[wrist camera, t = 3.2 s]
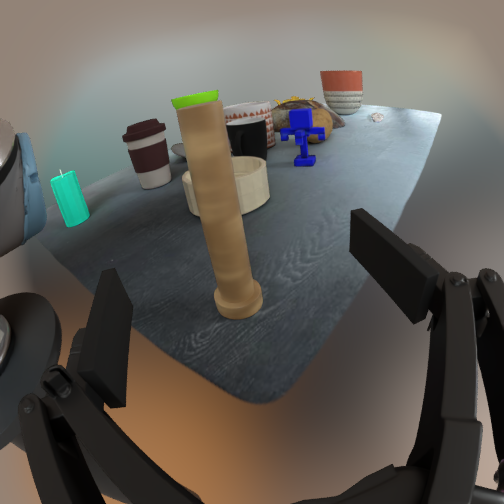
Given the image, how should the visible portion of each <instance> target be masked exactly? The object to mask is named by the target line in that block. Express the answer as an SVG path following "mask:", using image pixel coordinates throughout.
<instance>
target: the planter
mask: <svg viewBox="0 0 504 504" xmlns="http://www.w3.org/2000/svg"><path fill="white" fill-rule="evenodd" d="M320 75H321V79H322V86H323V92H324V98H325V101H326V104H327V105H328V107H329V108H330V109H331V110H333V111H334V112H335V113H337V114H342V115H348V114H353V113H355V112H356V111H357V110H358V109H359V108H360V106H361V103H362V97H363V96H362V95H363V94H362V93H363V91H362V71H320Z"/></svg>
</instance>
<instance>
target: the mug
mask: <svg viewBox="0 0 504 504" xmlns="http://www.w3.org/2000/svg"><path fill="white" fill-rule="evenodd" d="M226 129H227V134H228V138H229V142H230V145H231V149H232V152H233V155H234V157H236V156H251V157H258V158H261V159H263V160H264V161H265V160H266V157H267V126H266V119H265V118H262V117H256V118H246V119H240V120H235V121H231V122H228V123H227V124H226Z"/></svg>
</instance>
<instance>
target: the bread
mask: <svg viewBox="0 0 504 504" xmlns="http://www.w3.org/2000/svg"><path fill="white" fill-rule="evenodd" d="M303 108H311V110H312V111H313V110H315V109H318V108H320V109H324V110H326V111H327V112H328V113H329V114H330V116H331V118H332V123H333V126H332V129H333V127H334V128H338V126H340V125H341V126H342V125H344V124H345V122H344V120H343V119H342V118H341V117H340V116H339V115H338V114H336V113H335V112H334V111H333V110H331V109H329V108H328V107H326V106H324V105H323V104H321V103H318V102H316V101H312V100H295V101H288V102H285V103H282V104H280V105H278V106H277V107H275V108H274V109H272V110H271V112H272V120H273V128H274V132H275V131H276V132H280V129H281V128H291V127H290V118H289V111H290V110H292V109H303ZM341 126H340V127H341ZM344 126H345V125H344ZM342 127H343V126H342Z"/></svg>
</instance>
